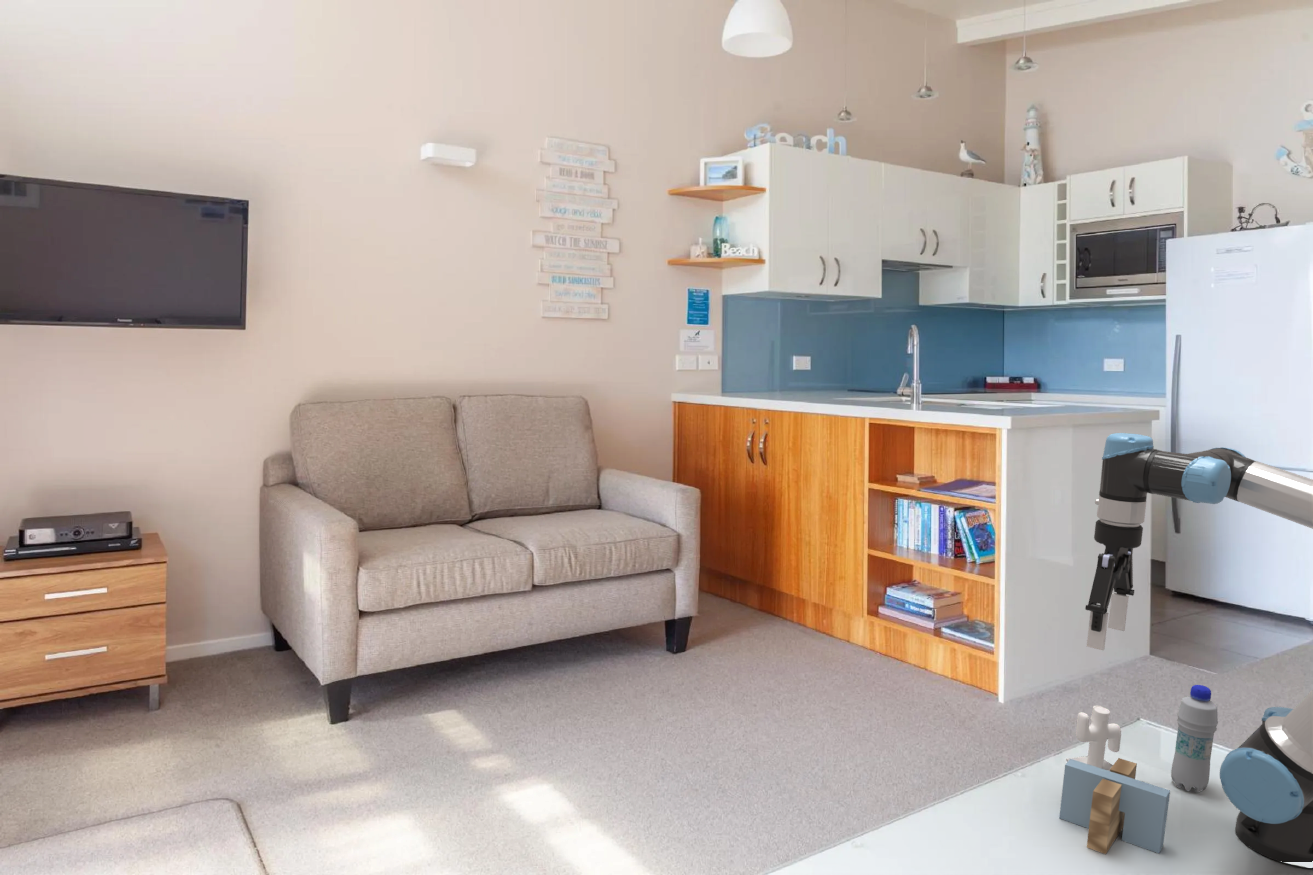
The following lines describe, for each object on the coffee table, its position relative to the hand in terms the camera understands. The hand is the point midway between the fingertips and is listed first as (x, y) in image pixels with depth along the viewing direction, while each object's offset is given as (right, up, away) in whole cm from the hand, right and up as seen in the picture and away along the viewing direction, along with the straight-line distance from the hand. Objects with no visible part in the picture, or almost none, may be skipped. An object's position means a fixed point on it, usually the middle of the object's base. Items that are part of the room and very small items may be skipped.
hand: (1106, 638), depth 174 cm
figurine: (+2, -30, +11) cm, 32 cm away
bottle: (+21, -31, +11) cm, 39 cm away
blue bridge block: (-2, -32, -6) cm, 33 cm away
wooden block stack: (-2, -32, -6) cm, 33 cm away
